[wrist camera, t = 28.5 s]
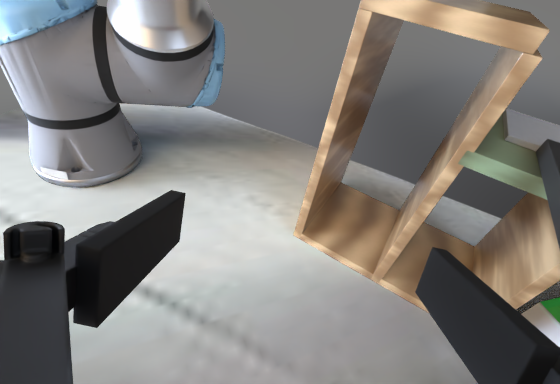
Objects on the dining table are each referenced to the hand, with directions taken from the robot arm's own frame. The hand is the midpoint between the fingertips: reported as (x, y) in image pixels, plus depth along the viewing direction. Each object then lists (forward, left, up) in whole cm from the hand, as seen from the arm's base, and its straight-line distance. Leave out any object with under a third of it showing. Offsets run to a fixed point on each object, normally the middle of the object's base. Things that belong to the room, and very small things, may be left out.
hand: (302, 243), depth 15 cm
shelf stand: (+7, +24, -20) cm, 32 cm away
